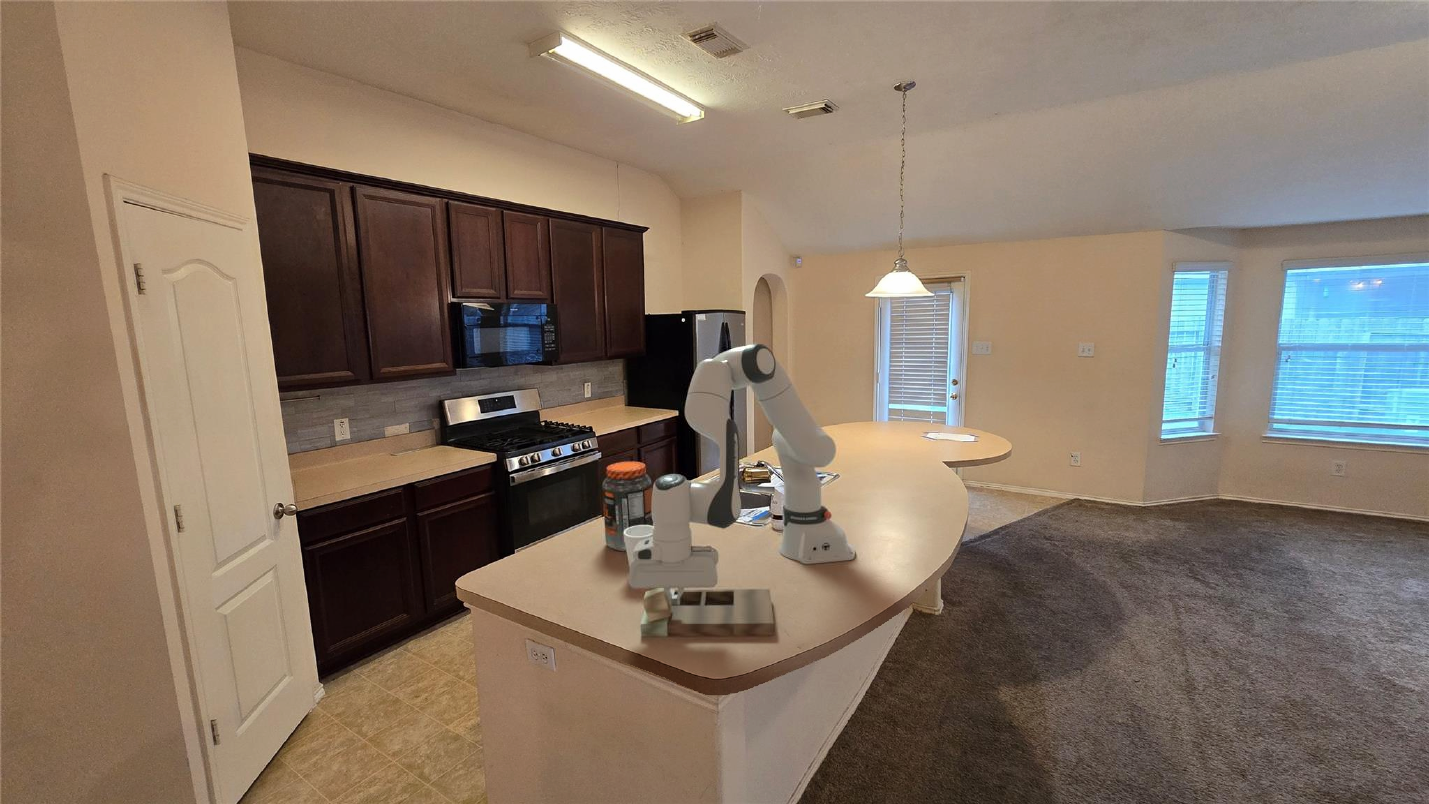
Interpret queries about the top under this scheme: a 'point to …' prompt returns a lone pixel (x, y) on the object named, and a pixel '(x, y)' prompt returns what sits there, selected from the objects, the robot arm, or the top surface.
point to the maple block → (656, 604)
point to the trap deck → (716, 614)
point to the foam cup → (636, 537)
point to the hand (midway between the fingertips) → (674, 603)
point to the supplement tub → (625, 501)
